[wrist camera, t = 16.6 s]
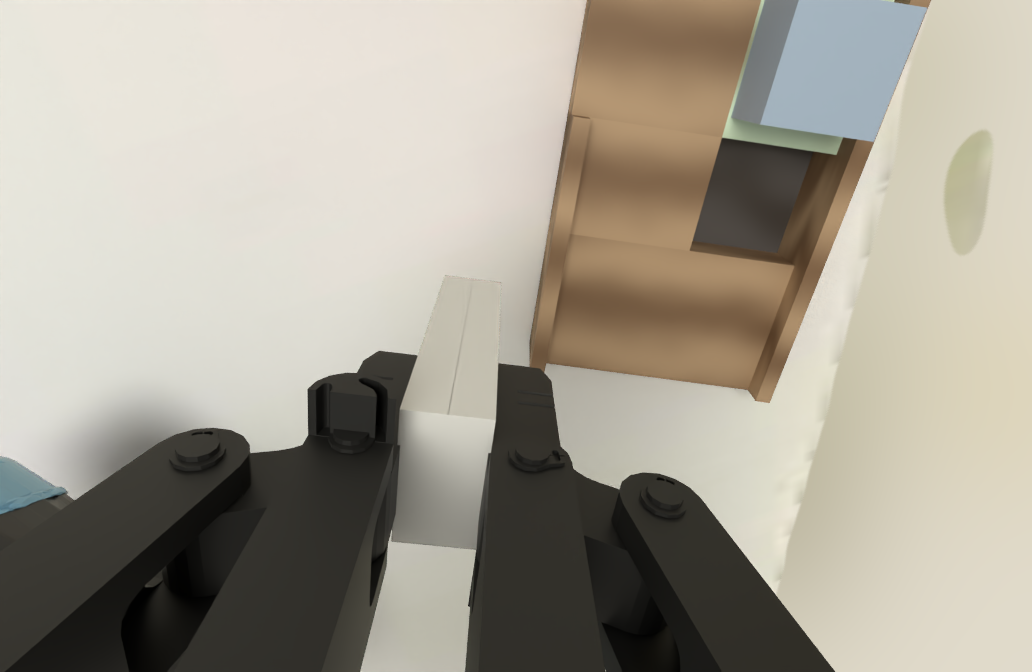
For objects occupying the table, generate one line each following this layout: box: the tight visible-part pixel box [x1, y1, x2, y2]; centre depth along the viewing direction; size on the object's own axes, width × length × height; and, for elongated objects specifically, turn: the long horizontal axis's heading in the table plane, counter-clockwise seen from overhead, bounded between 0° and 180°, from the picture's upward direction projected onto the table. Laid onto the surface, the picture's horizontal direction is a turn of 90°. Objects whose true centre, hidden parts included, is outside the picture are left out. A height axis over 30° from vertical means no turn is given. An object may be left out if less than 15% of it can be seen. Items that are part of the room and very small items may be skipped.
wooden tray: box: [530, 0, 931, 403], centre depth 33 cm, size 33×17×4 cm, turn 172°
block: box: [731, 0, 927, 142], centre depth 29 cm, size 6×6×4 cm
